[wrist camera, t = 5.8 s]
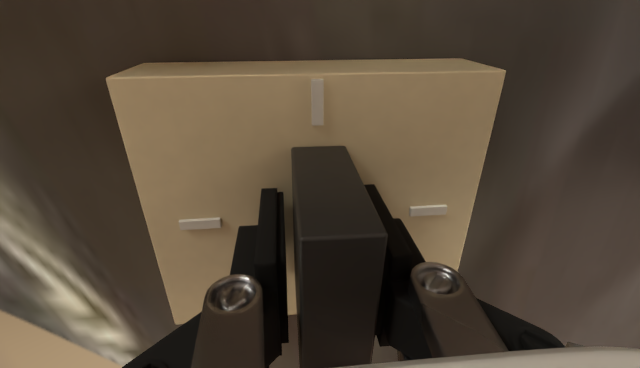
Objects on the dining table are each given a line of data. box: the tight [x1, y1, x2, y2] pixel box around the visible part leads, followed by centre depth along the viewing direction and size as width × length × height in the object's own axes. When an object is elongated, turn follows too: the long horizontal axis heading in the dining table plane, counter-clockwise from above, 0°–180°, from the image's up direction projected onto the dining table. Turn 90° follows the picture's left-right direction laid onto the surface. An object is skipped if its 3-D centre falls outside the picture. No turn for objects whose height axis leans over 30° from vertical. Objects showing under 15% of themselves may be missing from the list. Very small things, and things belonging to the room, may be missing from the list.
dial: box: [291, 146, 388, 368], centre depth 10 cm, size 6×2×5 cm, turn 179°
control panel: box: [106, 58, 506, 324], centre depth 14 cm, size 12×10×3 cm
